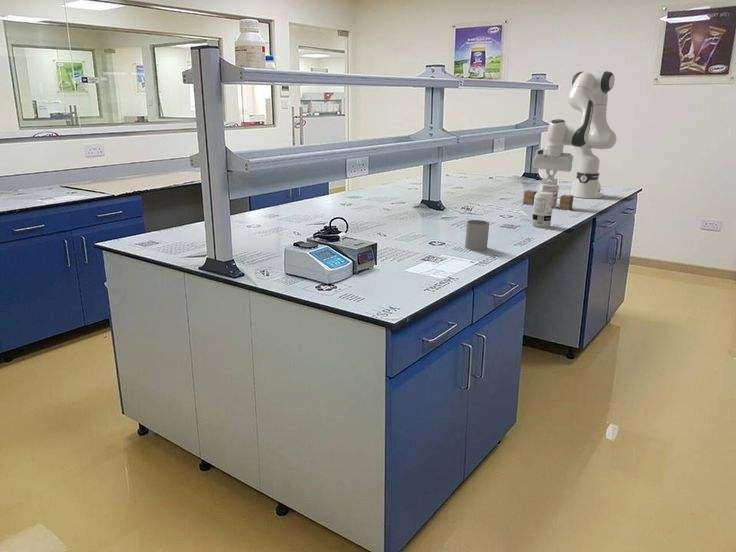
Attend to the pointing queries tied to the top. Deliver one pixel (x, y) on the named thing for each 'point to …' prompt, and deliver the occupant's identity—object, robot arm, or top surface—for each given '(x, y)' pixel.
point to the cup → (477, 235)
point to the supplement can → (542, 209)
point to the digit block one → (566, 202)
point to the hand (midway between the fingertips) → (550, 178)
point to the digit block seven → (529, 197)
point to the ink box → (550, 188)
